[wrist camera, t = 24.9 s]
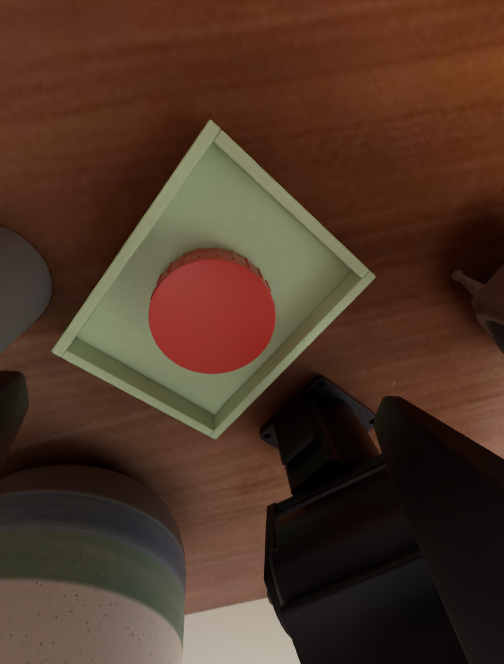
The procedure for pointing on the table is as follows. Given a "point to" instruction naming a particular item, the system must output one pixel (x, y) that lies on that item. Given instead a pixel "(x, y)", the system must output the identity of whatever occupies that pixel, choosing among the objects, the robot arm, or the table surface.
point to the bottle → (20, 286)
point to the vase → (88, 570)
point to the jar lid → (212, 311)
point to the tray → (224, 233)
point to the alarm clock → (487, 302)
